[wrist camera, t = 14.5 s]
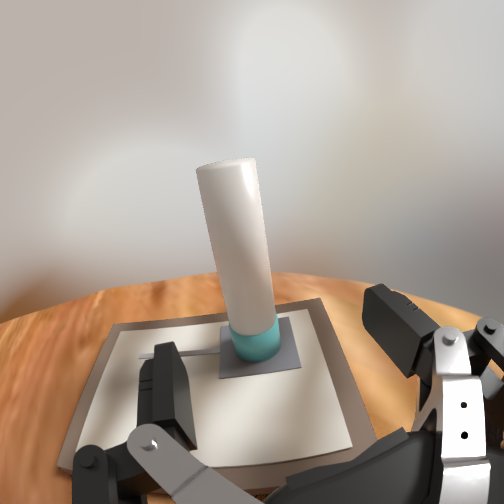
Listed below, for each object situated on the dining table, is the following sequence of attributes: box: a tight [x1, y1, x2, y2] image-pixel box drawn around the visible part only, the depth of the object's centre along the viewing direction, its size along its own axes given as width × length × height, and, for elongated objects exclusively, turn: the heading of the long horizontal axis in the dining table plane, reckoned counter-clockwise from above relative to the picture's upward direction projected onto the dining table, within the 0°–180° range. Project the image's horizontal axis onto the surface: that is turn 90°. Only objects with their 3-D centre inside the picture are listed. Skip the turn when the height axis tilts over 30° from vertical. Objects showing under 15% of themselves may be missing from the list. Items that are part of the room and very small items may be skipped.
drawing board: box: [56, 298, 377, 495], centre depth 18 cm, size 20×16×2 cm
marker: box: [196, 158, 281, 362], centre depth 18 cm, size 3×3×13 cm
